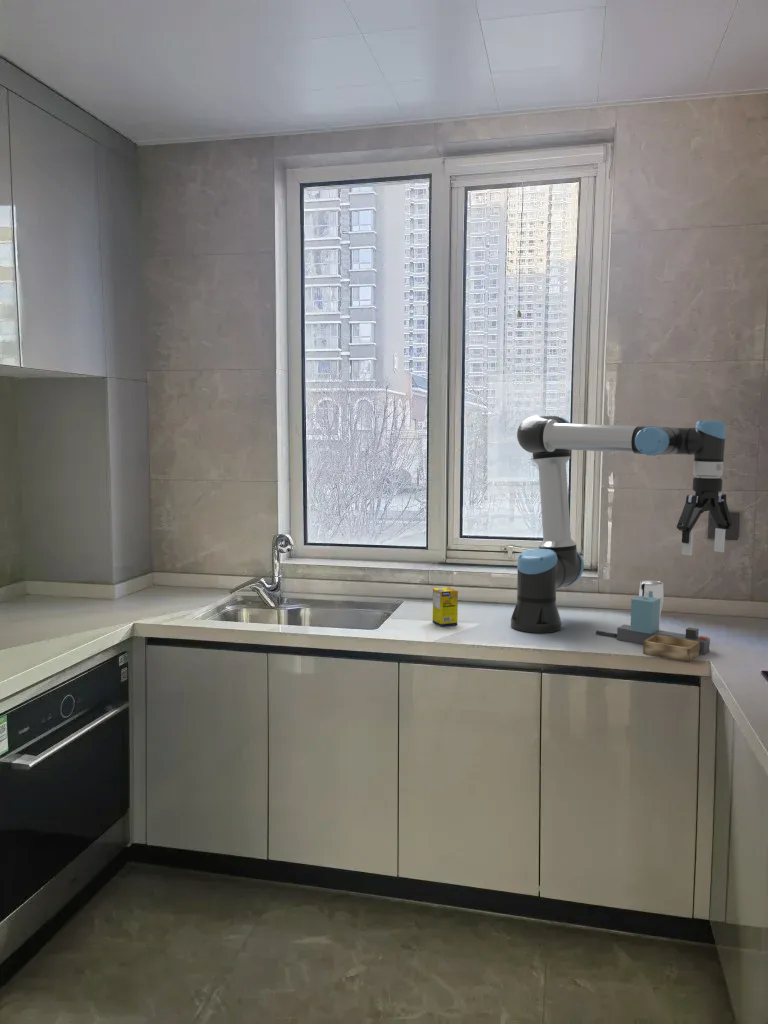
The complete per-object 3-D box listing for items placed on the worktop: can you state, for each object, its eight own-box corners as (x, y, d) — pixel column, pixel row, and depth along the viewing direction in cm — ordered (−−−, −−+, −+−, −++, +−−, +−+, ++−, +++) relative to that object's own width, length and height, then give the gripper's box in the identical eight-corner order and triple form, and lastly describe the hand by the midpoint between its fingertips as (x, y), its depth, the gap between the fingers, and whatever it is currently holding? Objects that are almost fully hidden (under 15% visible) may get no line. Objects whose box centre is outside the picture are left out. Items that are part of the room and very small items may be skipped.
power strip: (592, 635, 225) (592, 615, 224) (598, 632, 228) (599, 612, 228) (703, 654, 205) (704, 633, 205) (709, 650, 209) (710, 629, 208)
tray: (643, 653, 206) (643, 641, 205) (654, 646, 213) (655, 634, 212) (689, 662, 198) (689, 648, 198) (699, 654, 205) (700, 641, 205)
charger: (630, 639, 217) (631, 598, 216) (637, 635, 222) (639, 595, 221) (651, 643, 213) (652, 601, 212) (658, 638, 218) (660, 598, 217)
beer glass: (632, 629, 232) (634, 580, 230) (651, 627, 234) (653, 579, 233) (648, 635, 225) (650, 585, 224) (667, 633, 228) (669, 583, 226)
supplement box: (457, 625, 237) (458, 590, 235) (440, 626, 234) (440, 591, 233) (449, 620, 242) (449, 586, 241) (432, 622, 240) (432, 588, 239)
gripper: (688, 478, 201) (684, 558, 203) (748, 477, 213) (743, 552, 216) (665, 477, 207) (661, 554, 210) (725, 475, 220) (720, 548, 222)
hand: (703, 553), depth 213 cm, fingers open, 13 cm apart
